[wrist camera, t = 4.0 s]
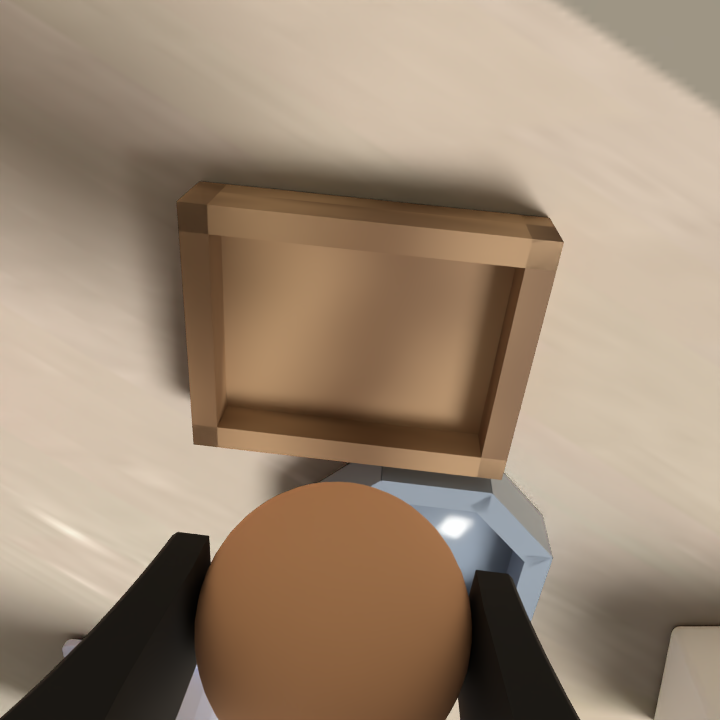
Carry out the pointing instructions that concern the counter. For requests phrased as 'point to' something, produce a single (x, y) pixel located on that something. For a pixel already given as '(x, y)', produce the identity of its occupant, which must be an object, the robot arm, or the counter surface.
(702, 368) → the counter surface
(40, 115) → the counter surface
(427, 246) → the tray
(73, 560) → the counter surface
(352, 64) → the counter surface
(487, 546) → the ramekin
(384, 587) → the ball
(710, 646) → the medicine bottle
